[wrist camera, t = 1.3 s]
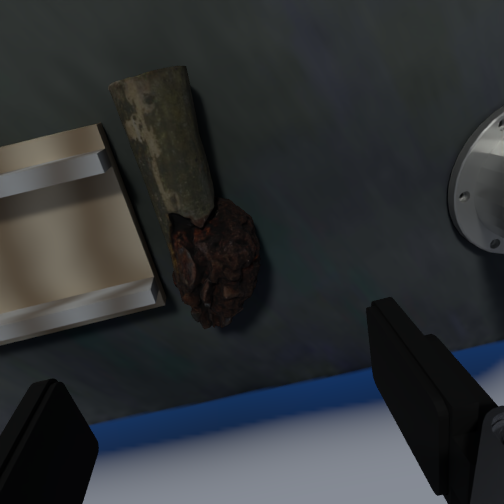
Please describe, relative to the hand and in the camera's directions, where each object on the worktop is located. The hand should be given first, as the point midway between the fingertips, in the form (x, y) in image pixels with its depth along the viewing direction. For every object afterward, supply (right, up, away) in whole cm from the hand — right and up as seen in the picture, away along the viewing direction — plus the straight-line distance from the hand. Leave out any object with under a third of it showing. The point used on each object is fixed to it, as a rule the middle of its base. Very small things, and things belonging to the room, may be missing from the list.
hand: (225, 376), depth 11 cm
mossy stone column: (-3, +8, +17) cm, 19 cm away
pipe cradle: (-16, +4, +16) cm, 23 cm away
